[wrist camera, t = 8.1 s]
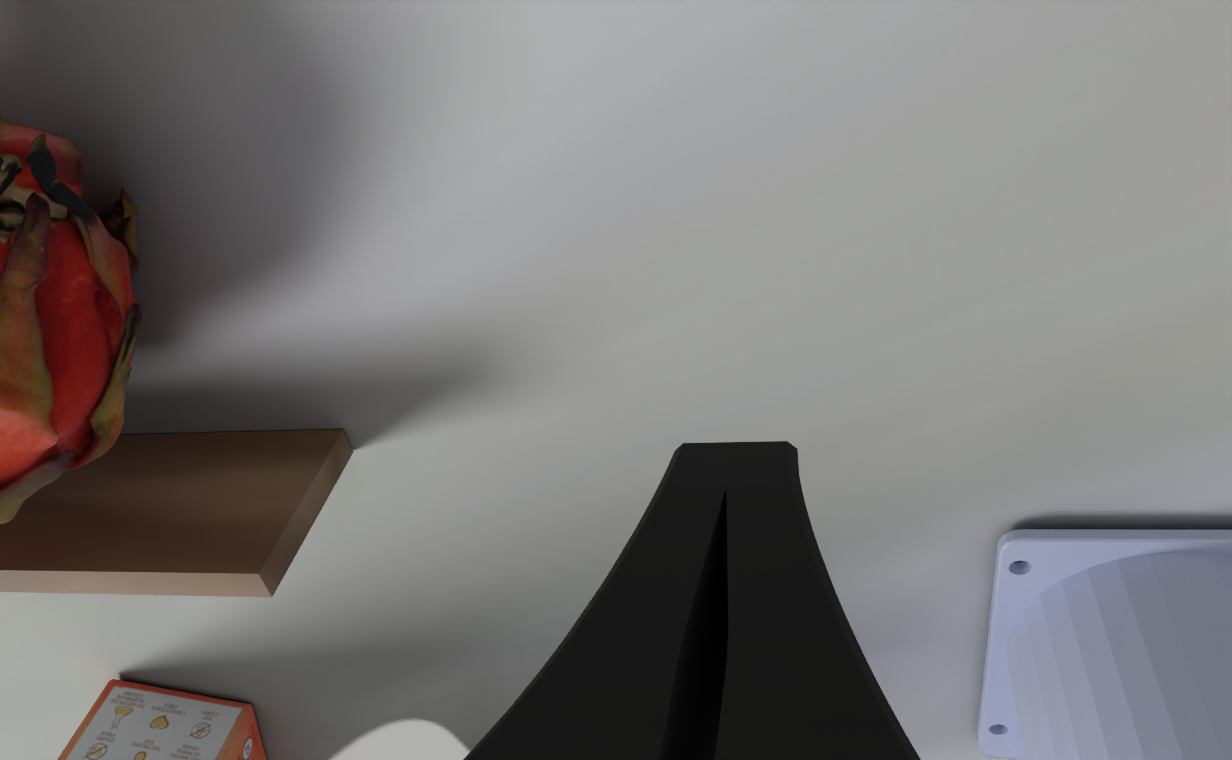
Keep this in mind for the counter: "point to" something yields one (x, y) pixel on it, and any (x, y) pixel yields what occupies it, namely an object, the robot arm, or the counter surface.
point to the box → (175, 515)
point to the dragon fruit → (59, 314)
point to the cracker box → (164, 727)
